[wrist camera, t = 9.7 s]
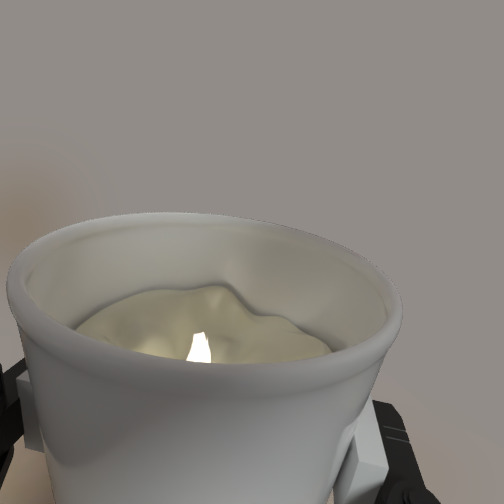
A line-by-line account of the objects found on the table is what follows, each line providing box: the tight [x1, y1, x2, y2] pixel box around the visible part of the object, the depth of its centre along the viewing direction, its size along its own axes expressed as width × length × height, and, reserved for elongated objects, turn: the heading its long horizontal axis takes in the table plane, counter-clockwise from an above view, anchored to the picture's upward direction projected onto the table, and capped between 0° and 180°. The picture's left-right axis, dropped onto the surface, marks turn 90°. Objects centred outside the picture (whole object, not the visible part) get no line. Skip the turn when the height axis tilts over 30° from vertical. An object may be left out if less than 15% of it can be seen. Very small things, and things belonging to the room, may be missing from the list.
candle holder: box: [6, 212, 403, 504], centre depth 11 cm, size 10×10×12 cm
